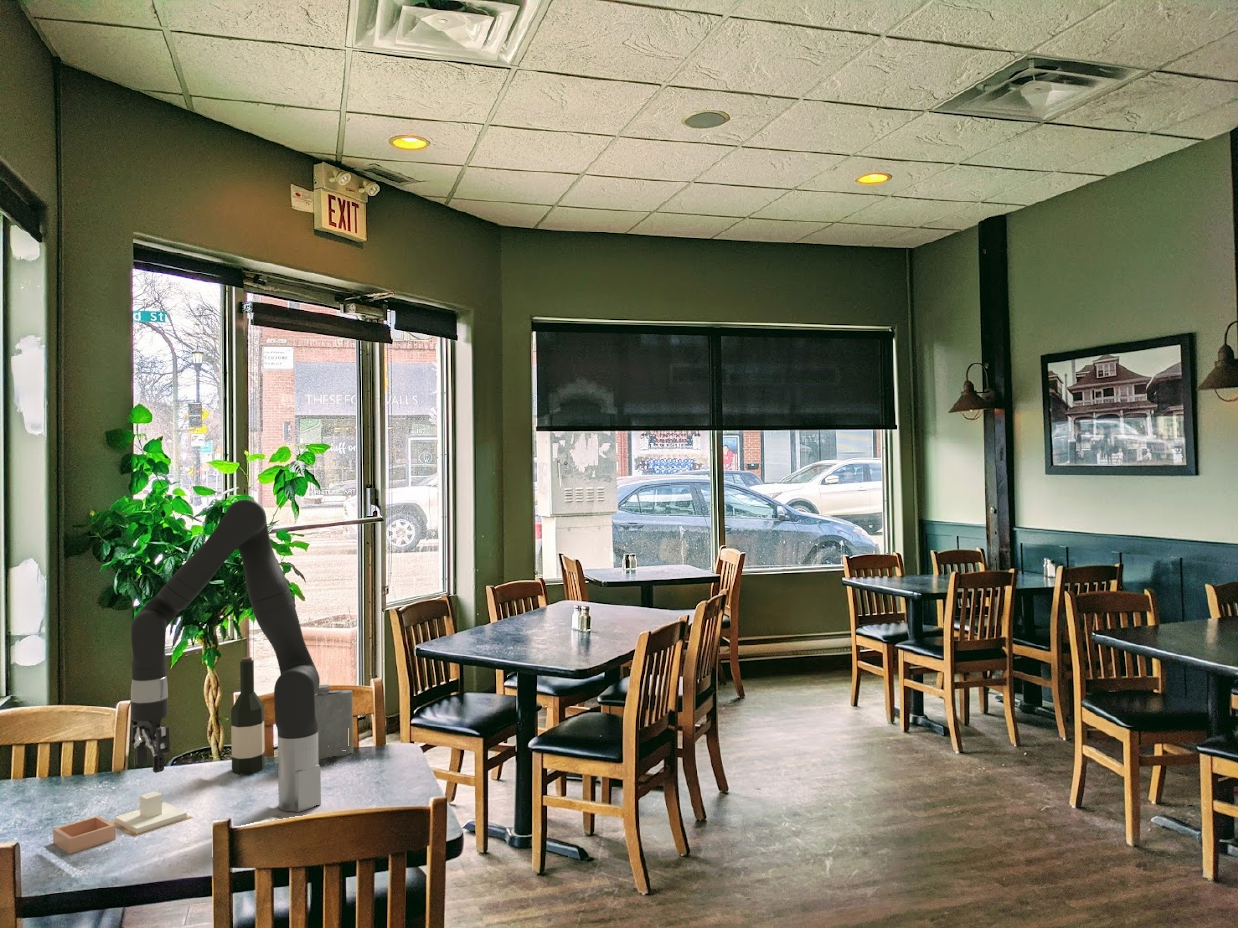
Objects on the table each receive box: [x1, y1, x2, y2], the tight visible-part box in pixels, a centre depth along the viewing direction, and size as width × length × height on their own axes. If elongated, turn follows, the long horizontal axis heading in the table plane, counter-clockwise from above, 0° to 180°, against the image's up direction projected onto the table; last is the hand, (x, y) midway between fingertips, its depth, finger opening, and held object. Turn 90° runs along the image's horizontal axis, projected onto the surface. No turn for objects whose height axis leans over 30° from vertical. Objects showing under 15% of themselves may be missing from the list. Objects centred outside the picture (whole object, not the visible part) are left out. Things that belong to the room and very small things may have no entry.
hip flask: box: [315, 684, 354, 761], centre depth 250 cm, size 16×4×20 cm, turn 124°
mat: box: [109, 814, 194, 838], centre depth 204 cm, size 13×13×1 cm
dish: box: [52, 815, 117, 855], centre depth 193 cm, size 9×9×4 cm
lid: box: [114, 791, 188, 834], centre depth 204 cm, size 11×11×6 cm
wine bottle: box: [230, 656, 266, 775], centre depth 241 cm, size 8×8×30 cm
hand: (149, 767), depth 204 cm, fingers open, 8 cm apart
